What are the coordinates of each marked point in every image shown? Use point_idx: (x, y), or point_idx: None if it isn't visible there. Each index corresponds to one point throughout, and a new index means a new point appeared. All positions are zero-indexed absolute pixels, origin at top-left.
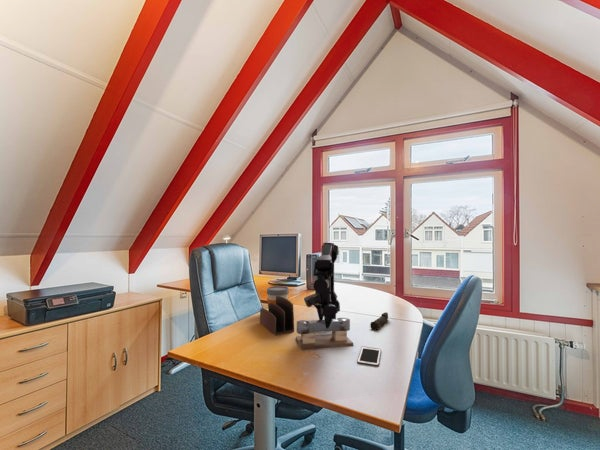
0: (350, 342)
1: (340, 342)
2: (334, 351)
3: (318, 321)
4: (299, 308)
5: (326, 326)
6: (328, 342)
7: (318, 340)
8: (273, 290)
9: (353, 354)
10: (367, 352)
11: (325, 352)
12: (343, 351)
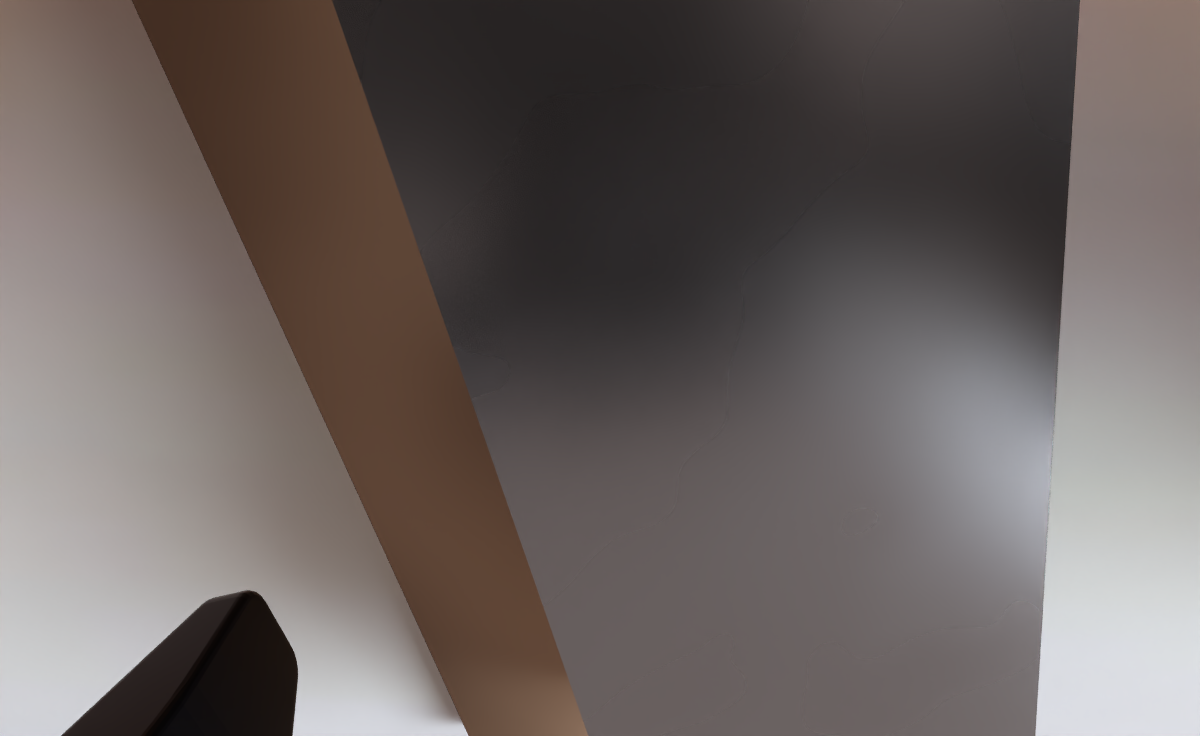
0: (503, 731)
1: (491, 586)
2: (127, 428)
3: (729, 368)
4: None
5: (155, 680)
6: None
7: None
8: None
9: (89, 704)
10: None
11: (2, 237)
12: (177, 578)
